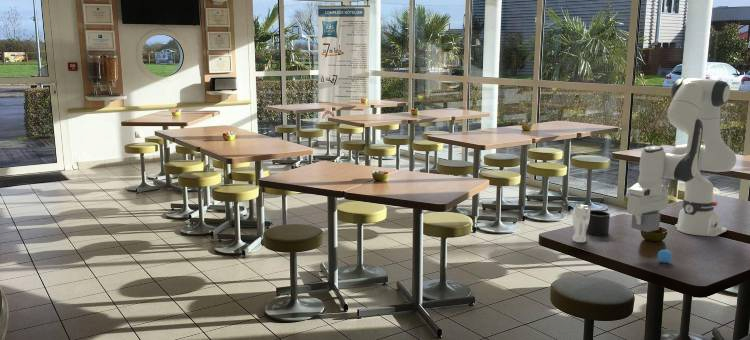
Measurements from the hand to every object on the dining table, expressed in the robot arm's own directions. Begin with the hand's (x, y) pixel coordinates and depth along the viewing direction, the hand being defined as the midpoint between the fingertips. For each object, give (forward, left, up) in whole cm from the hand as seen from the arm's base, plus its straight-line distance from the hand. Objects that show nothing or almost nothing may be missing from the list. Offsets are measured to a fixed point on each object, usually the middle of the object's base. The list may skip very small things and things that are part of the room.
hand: (646, 222), depth 250 cm
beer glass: (+7, -26, -14) cm, 30 cm away
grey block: (0, 0, -3) cm, 3 cm away
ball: (0, +9, -11) cm, 14 cm away
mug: (-10, -31, -14) cm, 35 cm away
